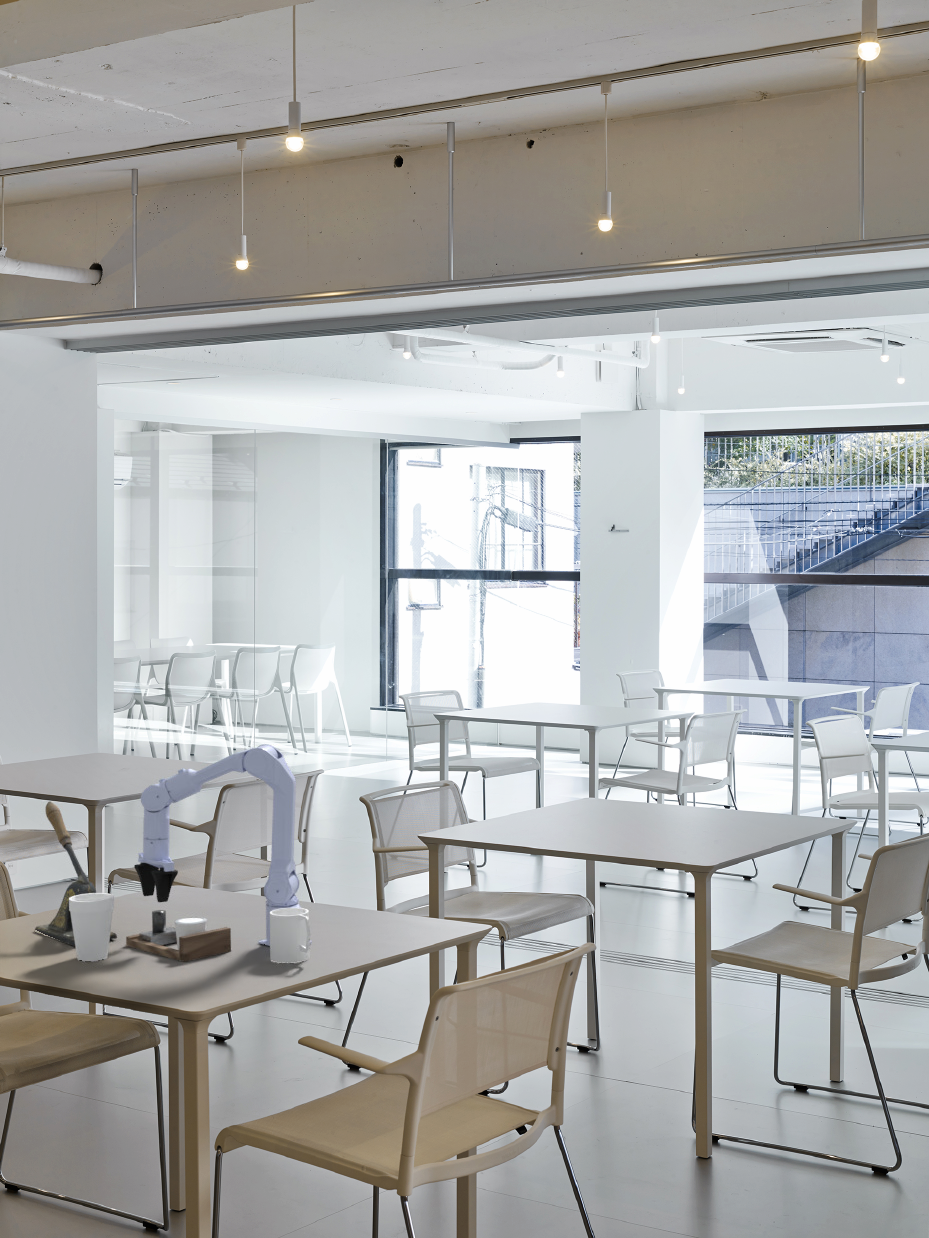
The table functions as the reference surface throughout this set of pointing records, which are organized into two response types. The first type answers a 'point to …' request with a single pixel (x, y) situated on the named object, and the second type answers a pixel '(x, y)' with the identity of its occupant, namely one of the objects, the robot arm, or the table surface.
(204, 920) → the white tapered cylinder
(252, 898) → the table surface
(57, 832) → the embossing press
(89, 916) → the foam cup
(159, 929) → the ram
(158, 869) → the robot arm
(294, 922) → the cup
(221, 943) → the wooden tray
